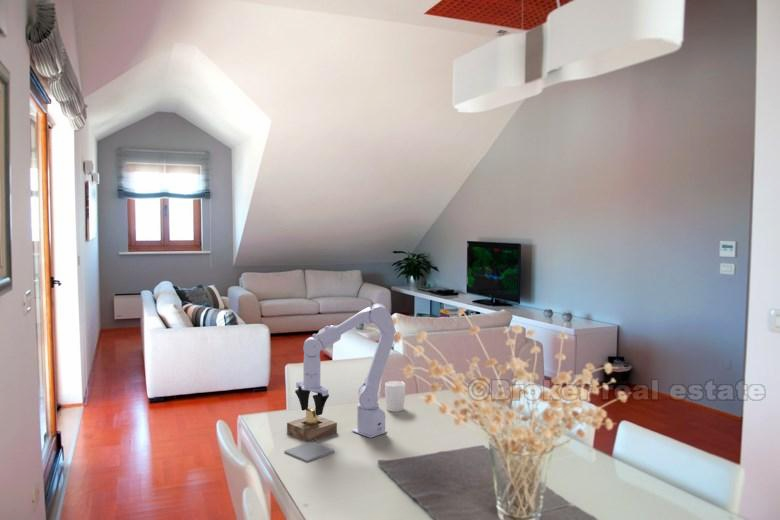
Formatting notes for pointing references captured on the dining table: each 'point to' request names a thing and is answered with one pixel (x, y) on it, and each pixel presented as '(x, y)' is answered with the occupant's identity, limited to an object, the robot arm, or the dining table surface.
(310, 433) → the block
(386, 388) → the white cup
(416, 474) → the dining table surface
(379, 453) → the dining table surface
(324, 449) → the pad
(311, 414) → the brass cylinder
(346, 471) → the dining table surface
